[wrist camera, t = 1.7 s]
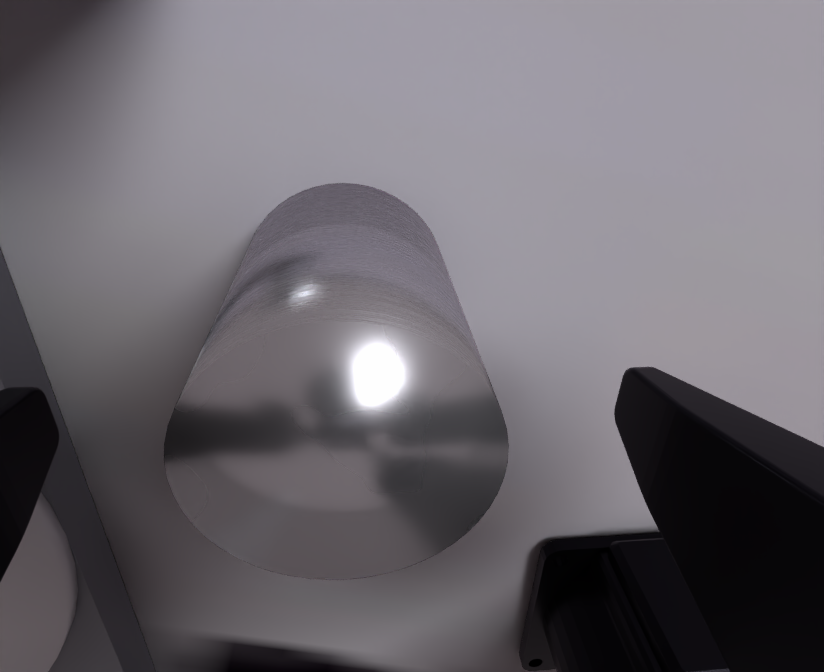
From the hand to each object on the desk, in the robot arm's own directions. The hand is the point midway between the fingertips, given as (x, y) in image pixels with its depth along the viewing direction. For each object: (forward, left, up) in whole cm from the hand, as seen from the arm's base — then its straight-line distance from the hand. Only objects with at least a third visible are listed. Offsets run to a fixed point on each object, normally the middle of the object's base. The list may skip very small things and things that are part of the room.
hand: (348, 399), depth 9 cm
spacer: (0, 0, -4) cm, 4 cm away
